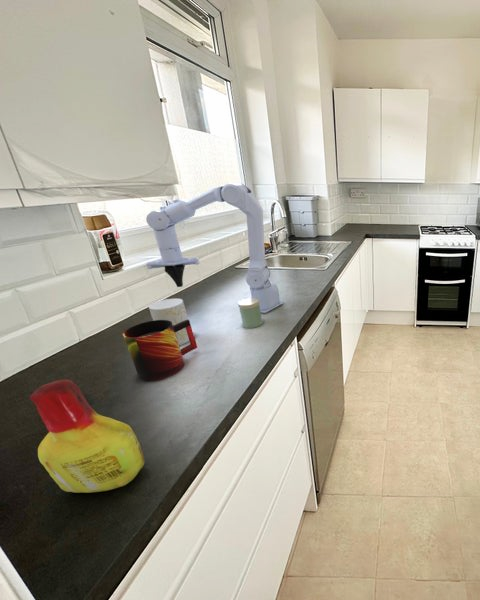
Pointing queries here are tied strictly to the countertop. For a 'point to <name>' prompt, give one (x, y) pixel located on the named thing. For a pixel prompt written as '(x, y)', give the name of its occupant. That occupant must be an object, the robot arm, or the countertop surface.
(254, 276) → the robot arm
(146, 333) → the mug
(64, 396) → the bottle
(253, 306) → the tea tin
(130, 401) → the countertop surface
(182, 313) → the white cylinder
